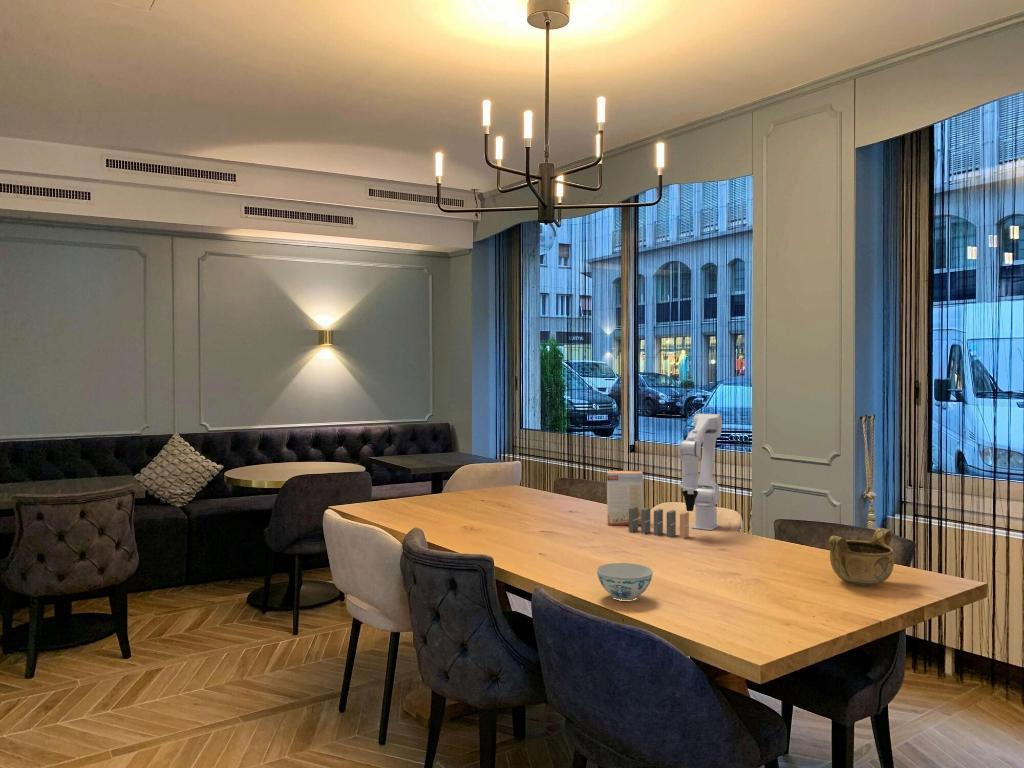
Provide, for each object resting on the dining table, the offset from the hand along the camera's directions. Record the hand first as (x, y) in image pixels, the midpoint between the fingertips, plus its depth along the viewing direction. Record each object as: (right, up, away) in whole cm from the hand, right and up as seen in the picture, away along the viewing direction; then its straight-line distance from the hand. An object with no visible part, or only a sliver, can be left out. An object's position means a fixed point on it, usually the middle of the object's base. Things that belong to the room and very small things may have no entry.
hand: (689, 510), depth 280 cm
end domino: (-19, -10, +12) cm, 24 cm away
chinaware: (-34, -12, -72) cm, 80 cm away
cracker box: (-20, -10, +25) cm, 33 cm away
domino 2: (-10, -10, +7) cm, 16 cm away
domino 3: (-6, -10, +4) cm, 12 cm away
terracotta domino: (-2, -10, +1) cm, 10 cm away
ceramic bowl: (+35, -12, -59) cm, 70 cm away
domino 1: (-14, -10, +9) cm, 20 cm away
